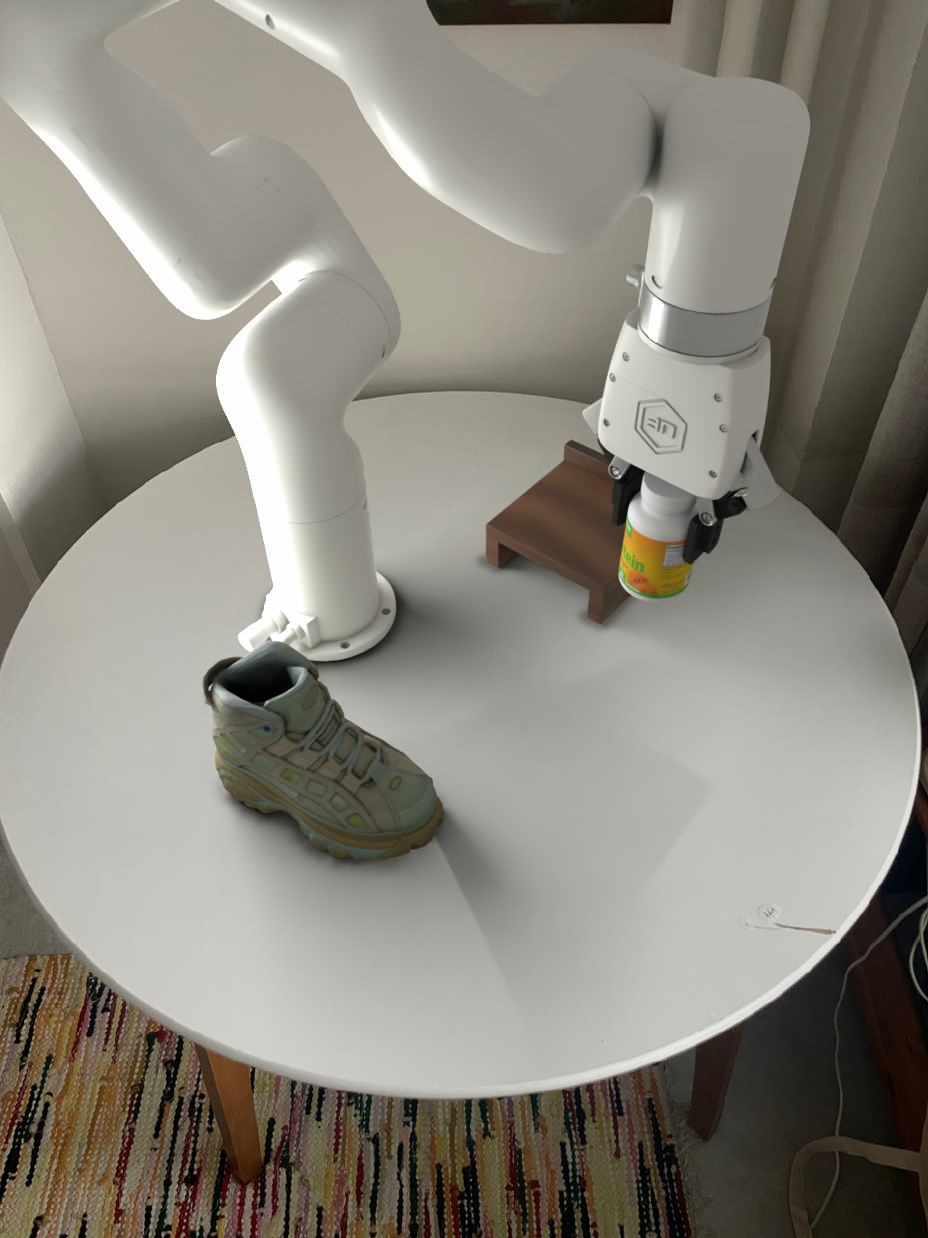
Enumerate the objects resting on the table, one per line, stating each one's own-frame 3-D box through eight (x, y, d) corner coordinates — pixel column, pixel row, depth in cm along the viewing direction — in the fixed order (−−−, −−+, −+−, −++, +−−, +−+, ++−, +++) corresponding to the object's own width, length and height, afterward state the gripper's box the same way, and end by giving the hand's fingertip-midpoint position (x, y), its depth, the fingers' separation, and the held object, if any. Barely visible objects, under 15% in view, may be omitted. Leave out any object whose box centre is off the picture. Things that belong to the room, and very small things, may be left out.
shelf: (600, 625, 97) (606, 571, 92) (485, 561, 103) (485, 508, 98) (679, 546, 104) (688, 493, 99) (567, 491, 111) (571, 438, 106)
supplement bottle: (605, 566, 79) (618, 466, 72) (666, 548, 81) (685, 448, 74) (639, 613, 76) (656, 513, 69) (702, 593, 77) (726, 493, 70)
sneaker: (373, 915, 77) (364, 786, 67) (197, 789, 85) (166, 659, 75) (461, 822, 83) (464, 693, 73) (290, 715, 92) (272, 586, 82)
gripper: (551, 286, 64) (537, 509, 77) (800, 391, 56) (737, 619, 69) (621, 242, 67) (596, 461, 81) (864, 334, 60) (792, 560, 73)
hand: (662, 532), depth 75 cm, fingers closed on supplement bottle, 5 cm apart
